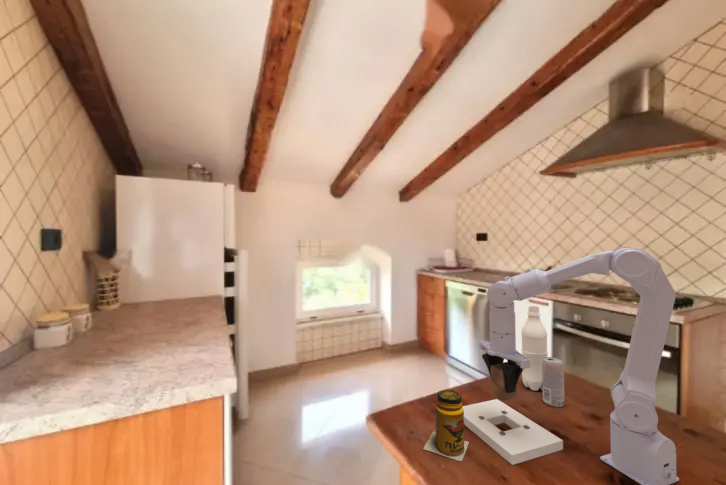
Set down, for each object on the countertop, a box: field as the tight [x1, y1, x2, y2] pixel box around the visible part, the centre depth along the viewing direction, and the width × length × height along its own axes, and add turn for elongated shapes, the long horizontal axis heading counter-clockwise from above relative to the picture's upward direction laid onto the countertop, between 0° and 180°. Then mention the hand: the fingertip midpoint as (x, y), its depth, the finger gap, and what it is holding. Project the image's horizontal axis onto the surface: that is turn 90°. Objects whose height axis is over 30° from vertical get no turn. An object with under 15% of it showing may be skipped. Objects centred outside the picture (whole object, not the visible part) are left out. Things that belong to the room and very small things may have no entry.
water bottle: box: [521, 305, 549, 392], centre depth 101 cm, size 7×7×25 cm
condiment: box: [422, 389, 470, 462], centre depth 73 cm, size 7×8×12 cm
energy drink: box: [541, 356, 565, 408], centre depth 91 cm, size 5×5×12 cm
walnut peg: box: [490, 364, 518, 402], centre depth 78 cm, size 4×4×7 cm
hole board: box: [462, 398, 564, 466], centre depth 78 cm, size 20×14×2 cm
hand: (503, 387), depth 78 cm, fingers closed on walnut peg, 4 cm apart
